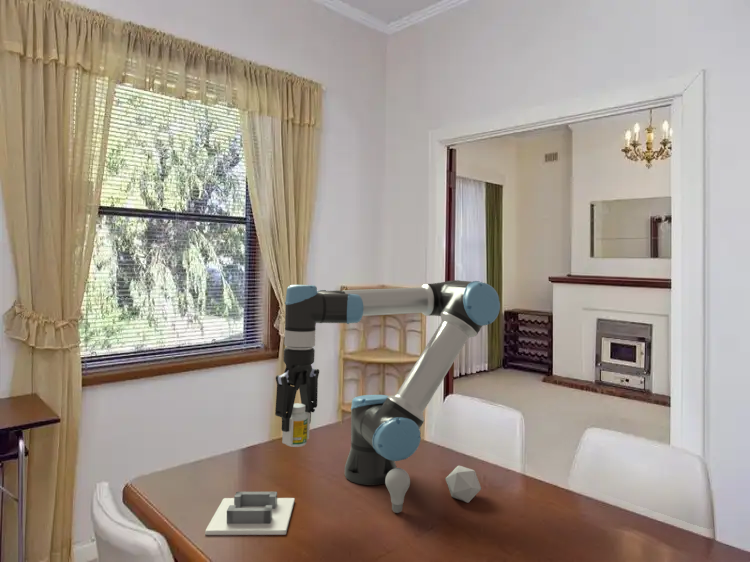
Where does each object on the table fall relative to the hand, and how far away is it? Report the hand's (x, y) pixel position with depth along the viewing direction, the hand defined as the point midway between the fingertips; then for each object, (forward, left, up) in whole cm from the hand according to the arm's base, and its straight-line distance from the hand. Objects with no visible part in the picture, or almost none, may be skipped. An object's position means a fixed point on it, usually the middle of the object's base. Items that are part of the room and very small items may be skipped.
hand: (295, 440), depth 127 cm
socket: (+10, +4, -17) cm, 20 cm away
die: (-43, -6, -18) cm, 47 cm away
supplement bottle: (0, 0, -1) cm, 1 cm away
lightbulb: (-25, +2, -18) cm, 31 cm away
